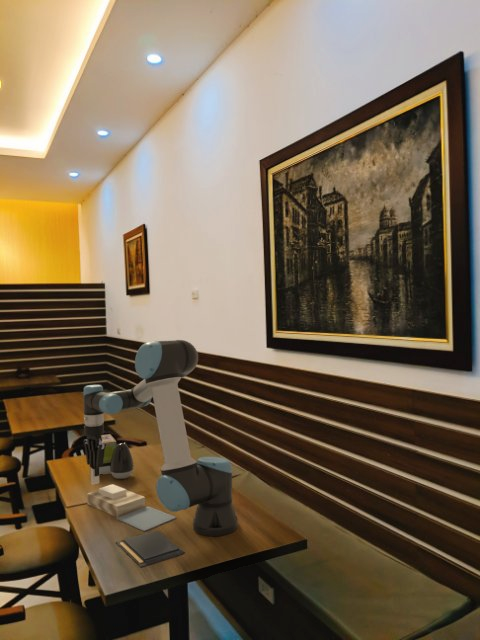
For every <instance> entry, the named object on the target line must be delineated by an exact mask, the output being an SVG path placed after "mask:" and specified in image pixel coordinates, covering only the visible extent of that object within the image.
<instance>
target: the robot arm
mask: <svg viewBox="0 0 480 640" xmlns="http://www.w3.org/2000/svg"><path fill="white" fill-rule="evenodd" d="M198 362H199V353H198V350H197V348H196V347H195V346H194V345H193V343H191V342H189V341H187V340H183V339H176V340H175V339H174V340H155V341H149V342H145V343H142V345H141V346H140V347H139V349H138V350H137V353H136V355H135V359H134V368H135V371H136V373H137V375H138V377H139V378H140V379H142V380H141V381H140V382H138V383H137V385H135V386H133V387H132V388H131V389H127V390H126V389H125V390H119V391H118V390H117V391H112V392H111V391H110V392H105V391H104V387H103V385H102V384H89V385H85V386H84V387H83V395H82V398H83V399H82V401H83V423H84V426H83V431H84V432H83V434H84V435H85V437H86V439H83V441H82V442H83V446H84V452H85V459H86V464H87V465H88V466H89V468H90V484H91V485H92V486H94V485H98V484H99V483H100V475H99V467H101V466H103V459H104V451H105V447H106V444H103V443H102V437H101V435H104V433H105V425H104V422H105V415H104V414H107V415H116V414H118V413H119V412H120V411H125V410H132V409H136V408H137V409H138V408H139V409H140V408H143V407H147V406H149V405H150V403H151V401H152V399H153V405H154V410H155V411H154V412H155V416H156V417H155V418H156V423H157V427H158V434H159V440H160V444H161V445H160V446H161V450H162V451H161V452H162V456H163V465H162V466H161V468H160V472H161V473H160V474H161V476H159V478H157V480H156V485H155V491H156V494H157V497H158V499H159V502H160V503H161V505H162V506H164V508H166V509H167V510H168V511H170V512H174V513H177V512H180V511H182V510H184V511H186V510H188V509H189V508H191V507H194V506H197V507H196V511H195V515H194V516H193V520H192V529H193V531H194V532H196V533H197V534H199V535H201V536H209V537H220V536H226V535H229V534H232V533H233V532H235V531H237V529H238V527H239V525H238V524H239V523H238V522H239V521H238V520H239V519H238V516H237V515H236V511H235V507H234V505H233V471H232V463H231V461H230V460H229V459H226V458H225V457H218V456H203V457H201V456H200V457H199V458H198V459H197V460H195V459H194V458H193V457H192V456H191V451H190V446H189V444H190V443H189V440H188V435H187V434H188V433H187V430H186V423H185V418H184V417H185V416H184V413H183V407H182V401H181V396H180V395H181V394H180V392H179V385H178V384H179V382H180V380H182V378H184V377H187V376H188V375H189V374H190V373H192V372H193V370H194V369H195V368H197V364H198Z"/></svg>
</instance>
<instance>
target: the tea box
mask: <svg viewBox="0 0 480 640" xmlns="http://www.w3.org/2000/svg"><path fill="white" fill-rule="evenodd" d="M101 437H102V443H103V444H106V447H105V451H104V459H103V466H101V467H99V476H101V475H100V474H103V475H107V474H106V473H109V474H112V473H111V471H110V464H111V459H112V455H113V451H114V449H115V447H116V446H117V445H118V444H117V441H116V439H115V438H114V437H113V436H112V434H110V433H109V434H102V435H101Z"/></svg>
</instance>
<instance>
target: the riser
mask: <svg viewBox="0 0 480 640" xmlns="http://www.w3.org/2000/svg"><path fill="white" fill-rule="evenodd" d="M86 496H87V498H86V499H87V500H86V501H87V505H88V506H90V507H93V508H95V509H97V510H100V511H102V512H104V513H106V514H108V515H110V516H113V517H115V518H118V517H120V516H123V515H126V514H128V513H131V512H134V511H136V510H139V509H142V508H144V507H146V497H145V496H144V495H141V494H138V493H136V492H133V491H130V490H127V489H126V495H124V496H121V497H118V498H115V499H111V498H109V497H106V496H104V495H101V494H99V489H98V490H95V491H92V492H88V493H87V494H86Z"/></svg>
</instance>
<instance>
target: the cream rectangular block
mask: <svg viewBox="0 0 480 640" xmlns="http://www.w3.org/2000/svg"><path fill="white" fill-rule="evenodd" d="M98 490H99V494H101V495H104V496H106V497H109V498H111V499H115V498H118V497H121V496H124V495H126V490H127V489H126V488H124V487H121V486H118V485H116V484H113V483H112V484H109V485H105V486H103V487H99V489H98Z"/></svg>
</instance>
